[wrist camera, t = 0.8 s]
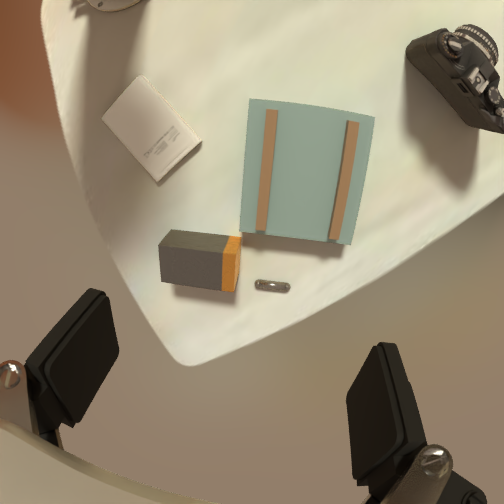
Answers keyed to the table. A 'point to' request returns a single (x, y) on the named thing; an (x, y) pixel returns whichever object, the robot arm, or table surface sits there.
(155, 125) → the external hard drive
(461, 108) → the camera
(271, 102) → the stand
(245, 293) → the table surface
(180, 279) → the block
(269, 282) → the grey metal rounded bar
